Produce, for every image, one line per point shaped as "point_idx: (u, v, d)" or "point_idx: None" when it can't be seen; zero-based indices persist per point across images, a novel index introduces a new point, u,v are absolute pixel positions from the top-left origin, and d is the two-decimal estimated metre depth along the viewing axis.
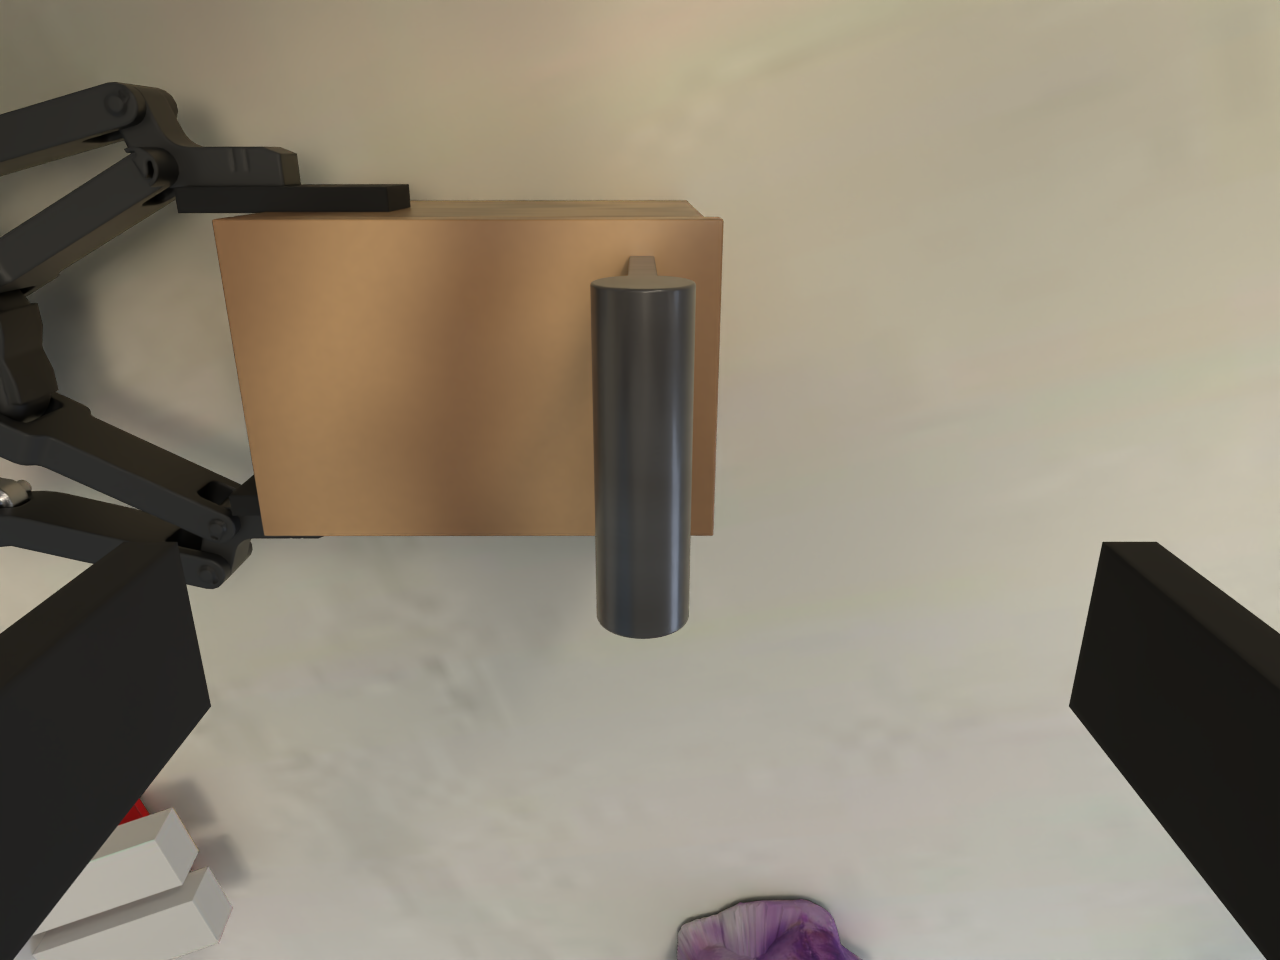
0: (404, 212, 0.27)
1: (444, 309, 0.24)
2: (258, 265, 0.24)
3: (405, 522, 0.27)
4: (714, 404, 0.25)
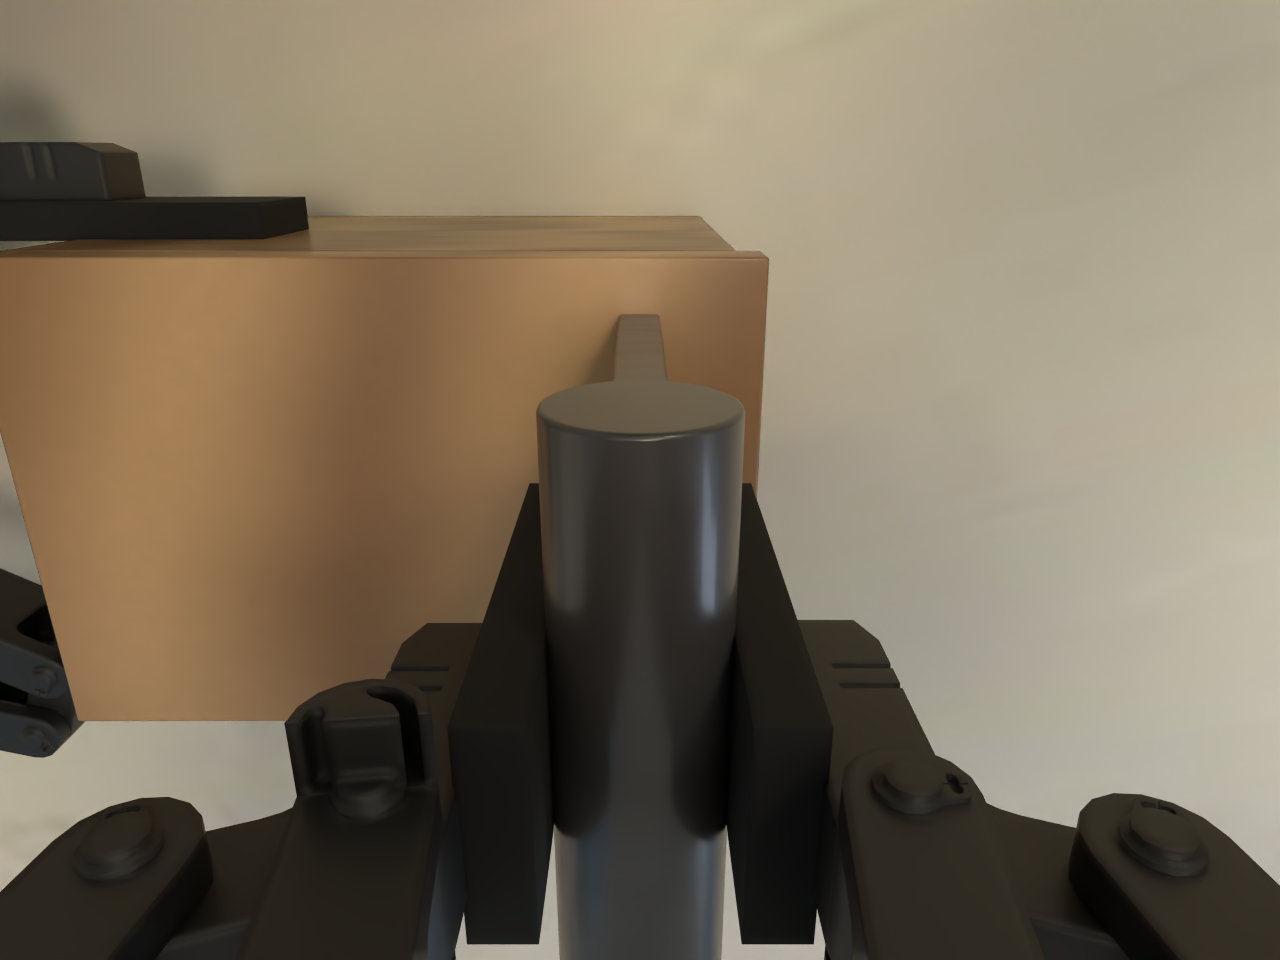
0: (284, 240, 0.18)
1: (330, 396, 0.16)
2: (34, 329, 0.15)
3: (287, 702, 0.18)
4: None
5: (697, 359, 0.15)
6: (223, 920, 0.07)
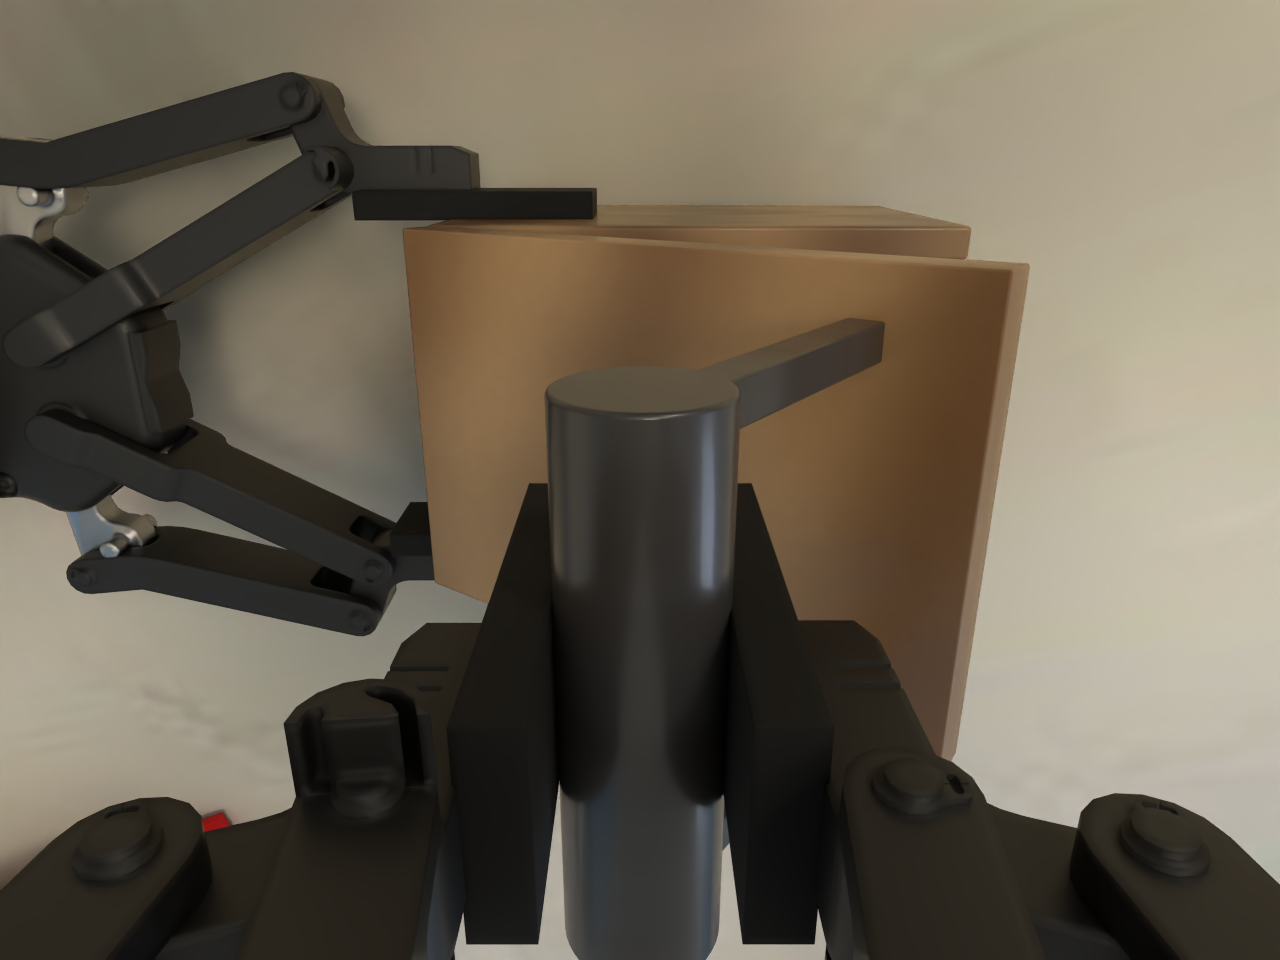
0: (608, 220, 0.23)
1: (606, 363, 0.18)
2: (437, 284, 0.20)
3: None
4: (962, 580, 0.15)
5: (921, 374, 0.14)
6: (222, 920, 0.07)
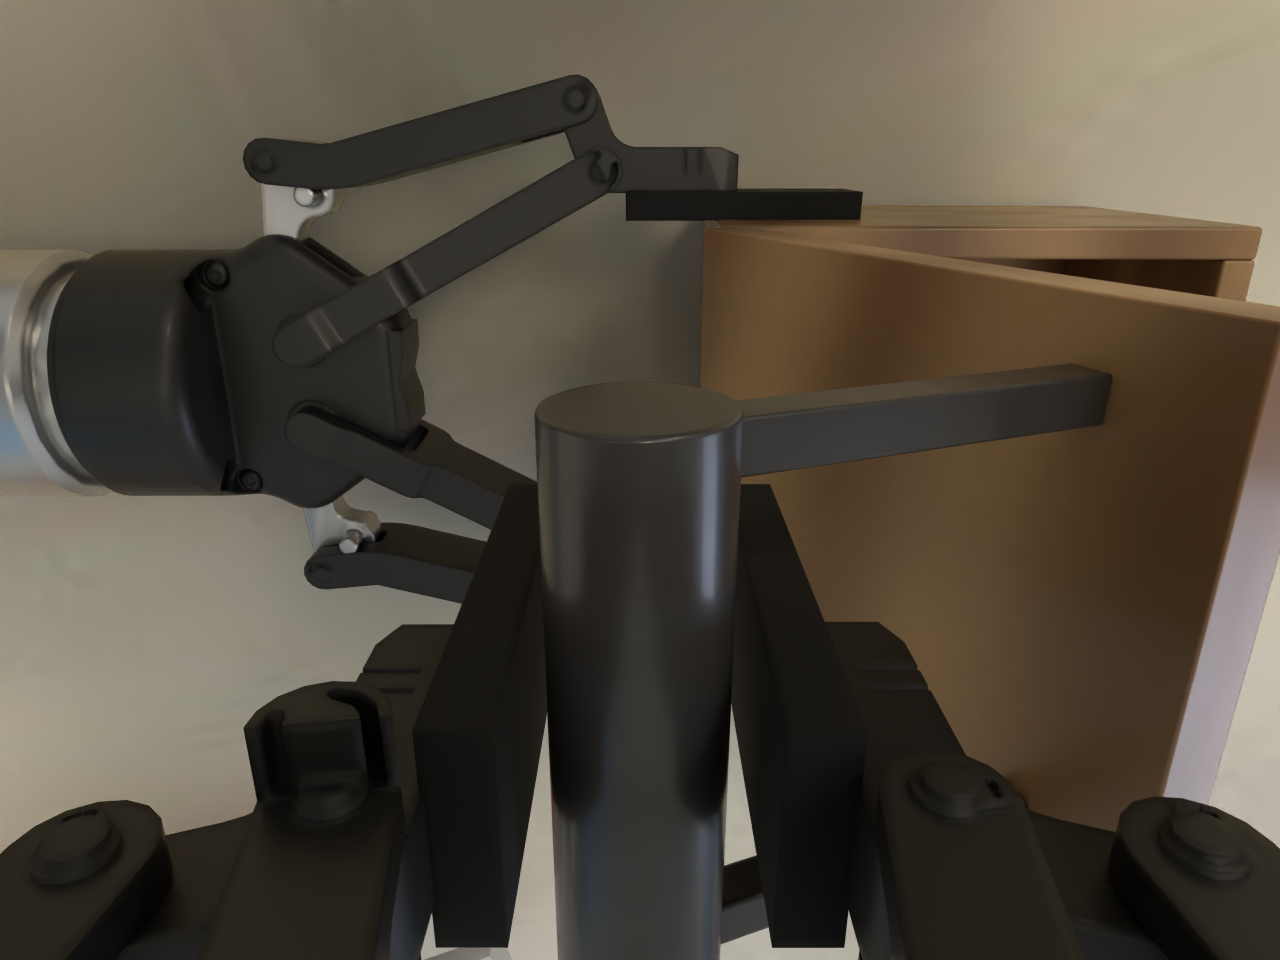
0: (880, 220, 0.24)
1: (840, 382, 0.17)
2: (722, 284, 0.21)
3: None
4: (1170, 731, 0.11)
5: (1148, 449, 0.11)
6: (180, 924, 0.07)
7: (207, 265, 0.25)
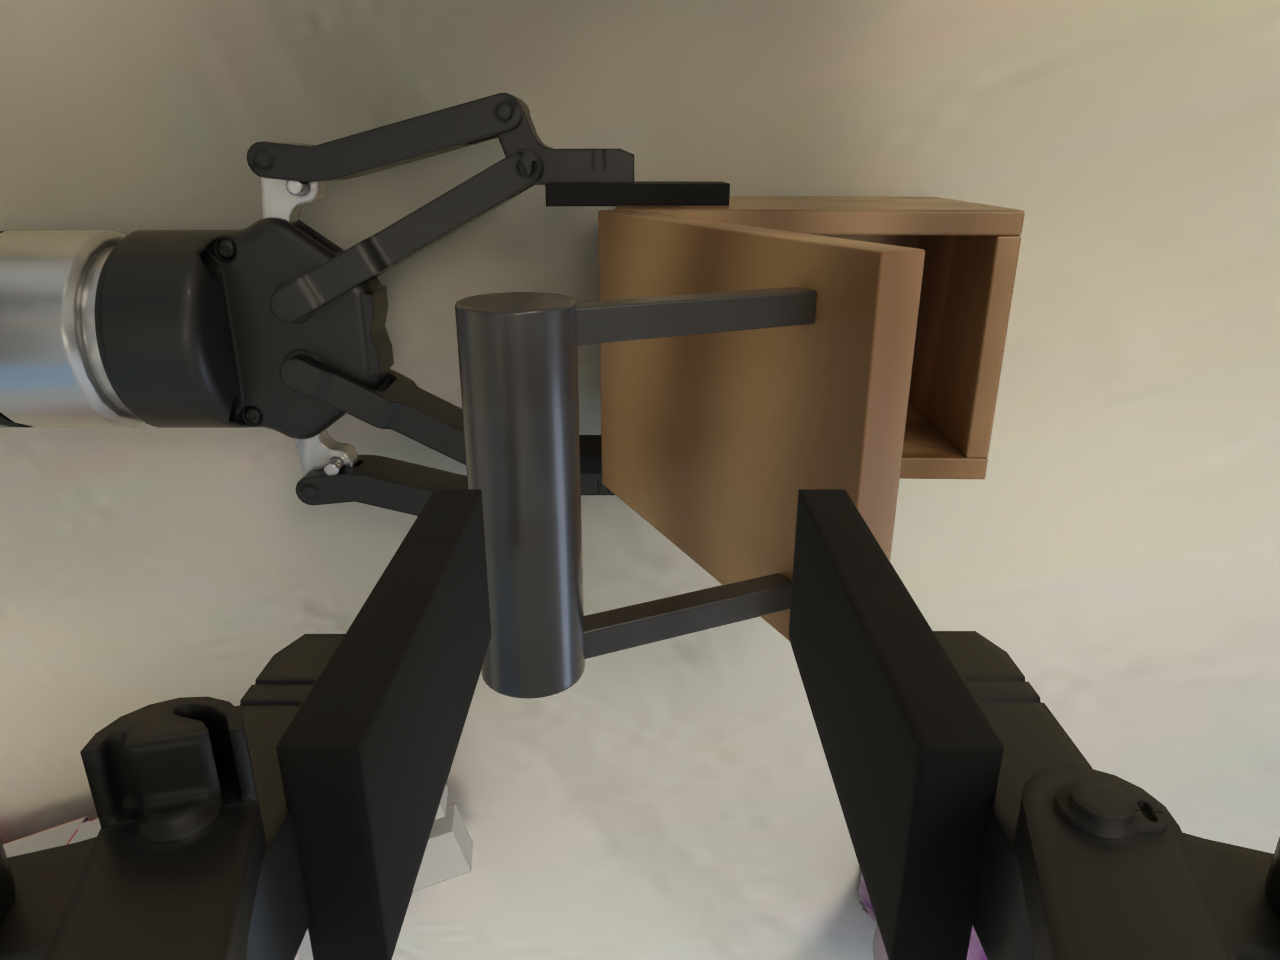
0: (743, 206, 0.30)
1: None
2: (611, 253, 0.27)
3: (655, 515, 0.27)
4: None
5: (834, 334, 0.18)
6: (11, 951, 0.07)
7: (218, 241, 0.32)
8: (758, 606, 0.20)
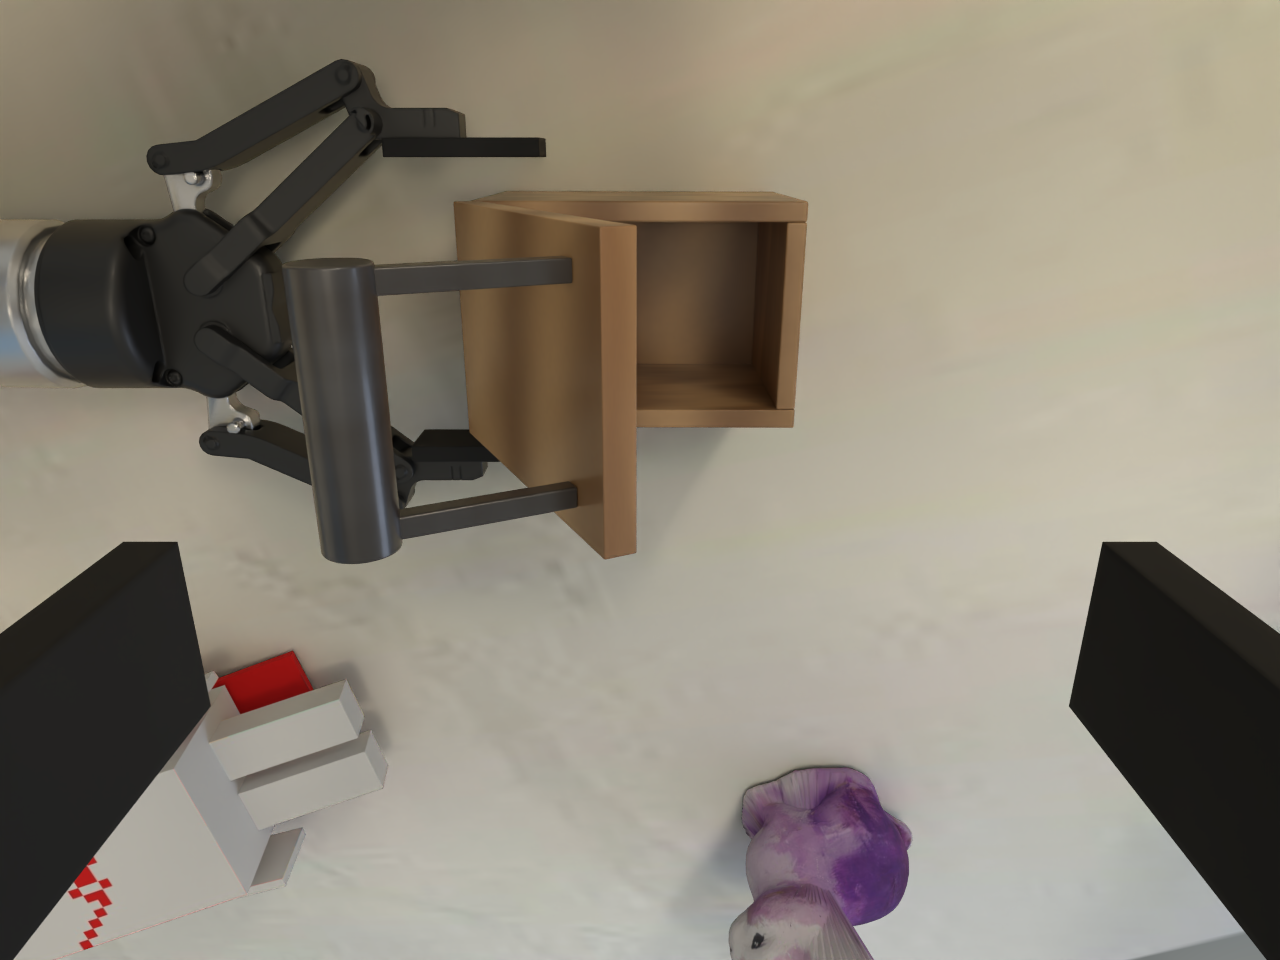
0: (584, 198, 0.36)
1: None
2: (462, 236, 0.33)
3: (501, 452, 0.33)
4: (601, 421, 0.24)
5: (582, 290, 0.24)
6: None
7: (141, 229, 0.38)
8: (546, 504, 0.26)
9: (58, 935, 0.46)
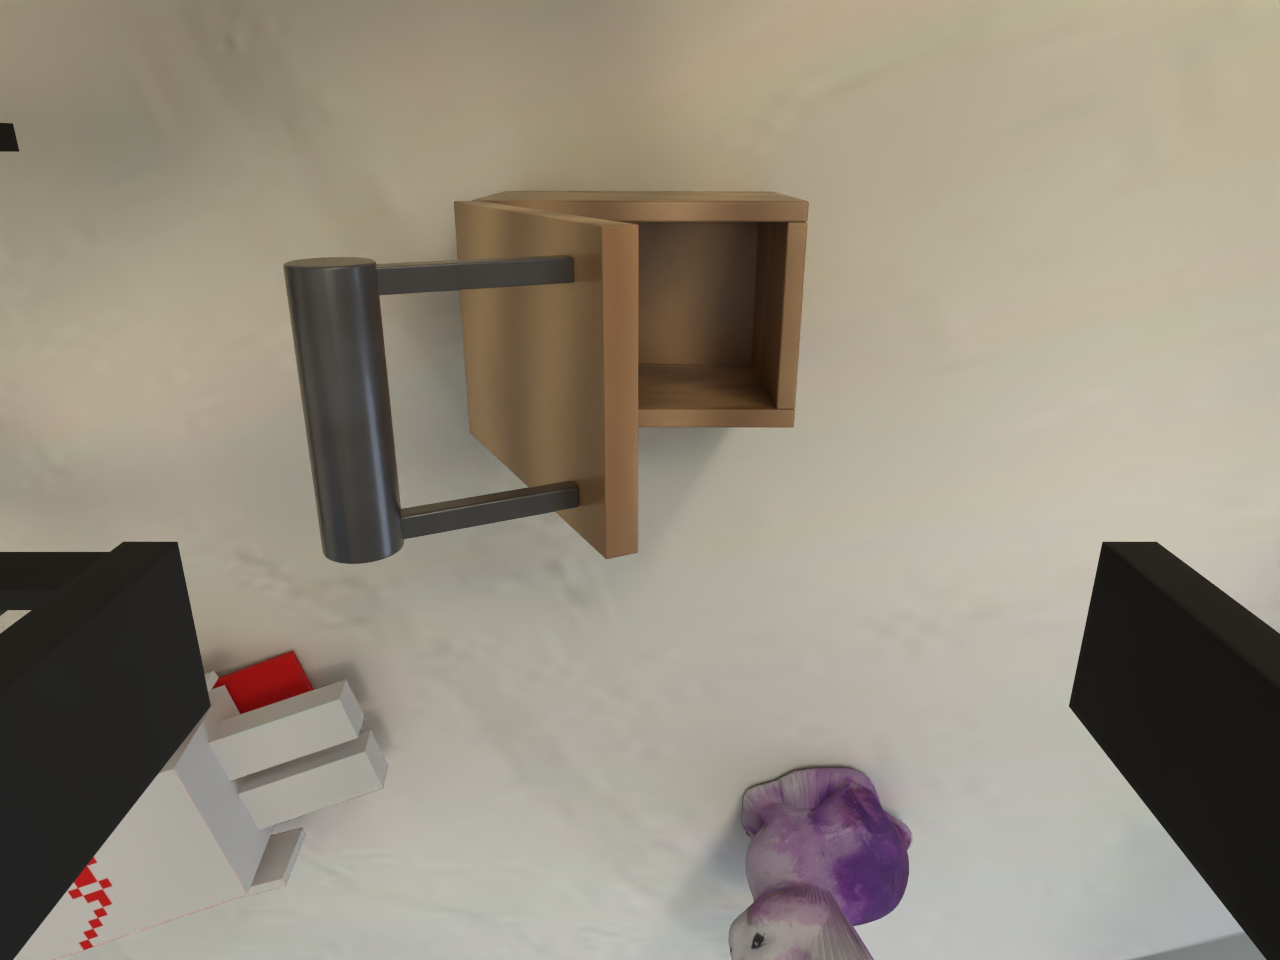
0: (584, 198, 0.36)
1: None
2: (463, 236, 0.33)
3: (502, 452, 0.33)
4: (602, 420, 0.24)
5: (584, 289, 0.24)
6: None
7: None
8: (548, 504, 0.26)
9: (58, 935, 0.46)
